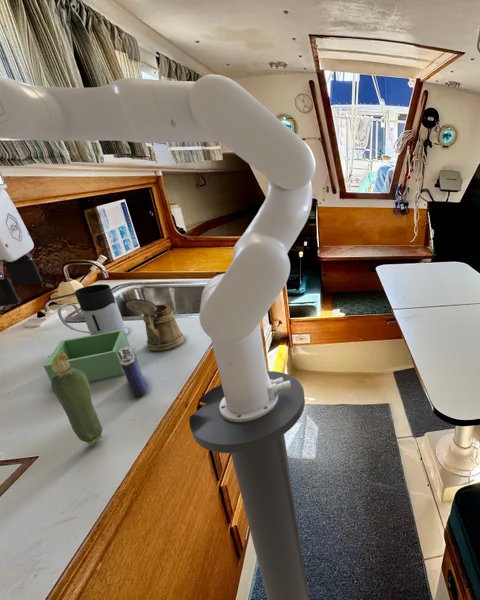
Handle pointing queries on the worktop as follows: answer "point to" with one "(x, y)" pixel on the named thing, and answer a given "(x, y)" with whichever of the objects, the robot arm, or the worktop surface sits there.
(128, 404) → the worktop surface
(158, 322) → the wooden mug
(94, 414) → the vegetable
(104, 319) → the travel mug
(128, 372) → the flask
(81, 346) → the veg bin
